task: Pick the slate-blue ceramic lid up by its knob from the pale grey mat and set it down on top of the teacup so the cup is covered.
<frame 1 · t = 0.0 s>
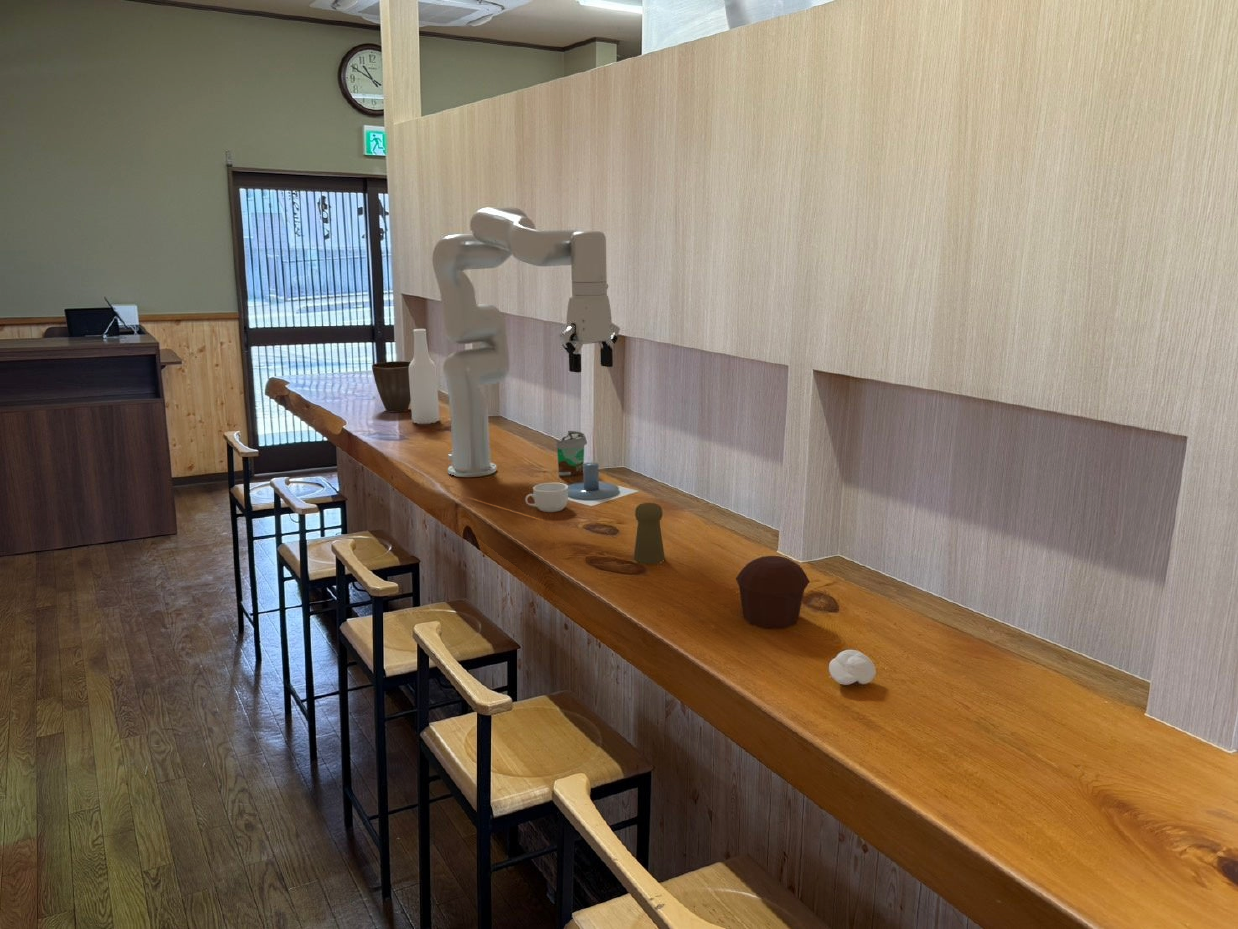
hand: (591, 369, 207), 31 cm above the bar counter, tool pointing down, fingers open, 9 cm apart
mat: (591, 493, 224), on the bar counter
teacup: (547, 511, 211), on the bar counter
food container: (575, 474, 242), on the bar counter
plant pot: (397, 410, 327), on the bar counter
lid: (591, 492, 224), resting on mat
cork: (649, 560, 180), on the bar counter
alcohol: (426, 422, 307), on the bar counter
dumpling: (850, 684, 132), on the bar counter
muffin: (771, 619, 153), on the bar counter
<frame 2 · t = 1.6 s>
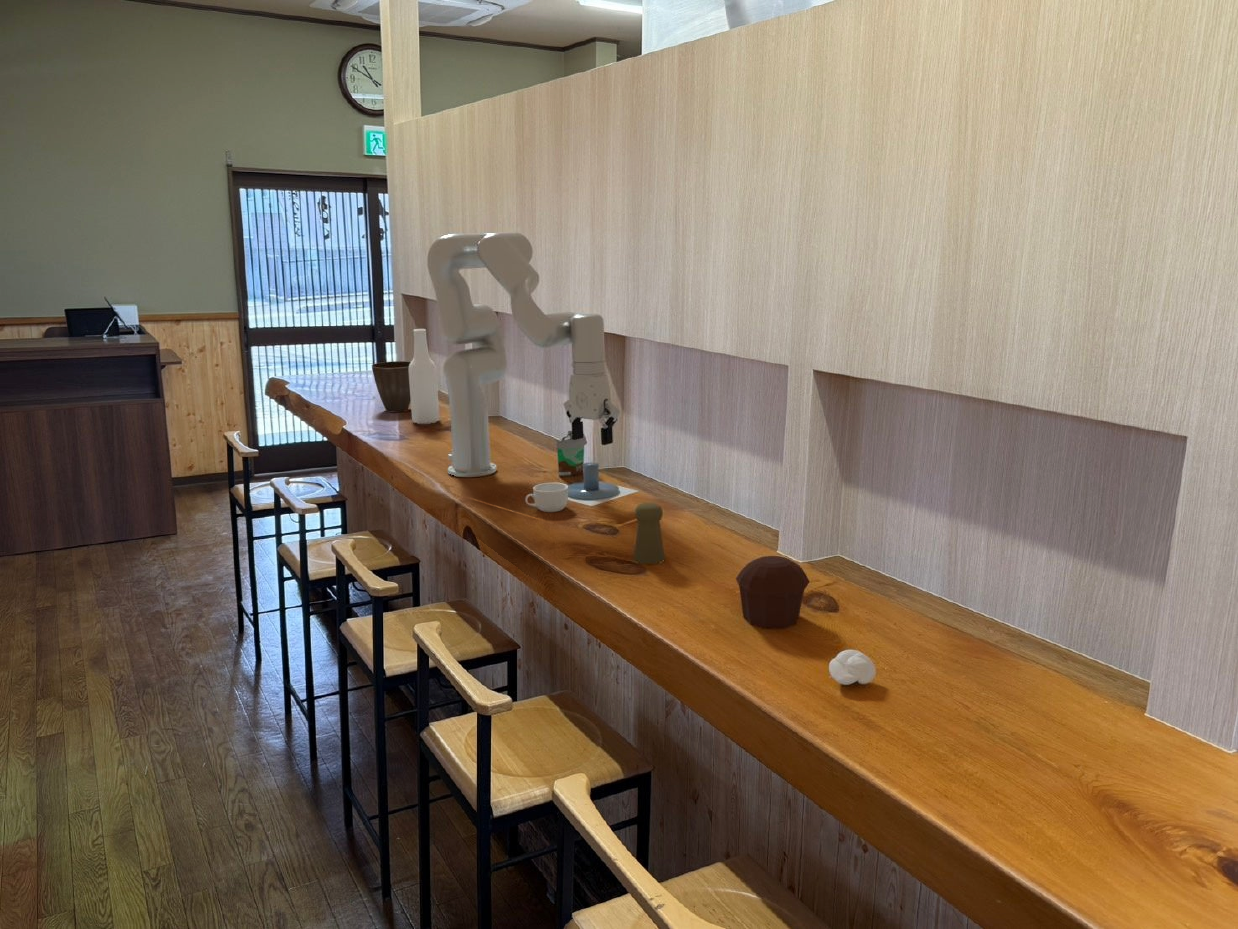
hand: (592, 441, 220), 13 cm above the bar counter, tool pointing down, fingers open, 9 cm apart
nothing on the bar counter moved.
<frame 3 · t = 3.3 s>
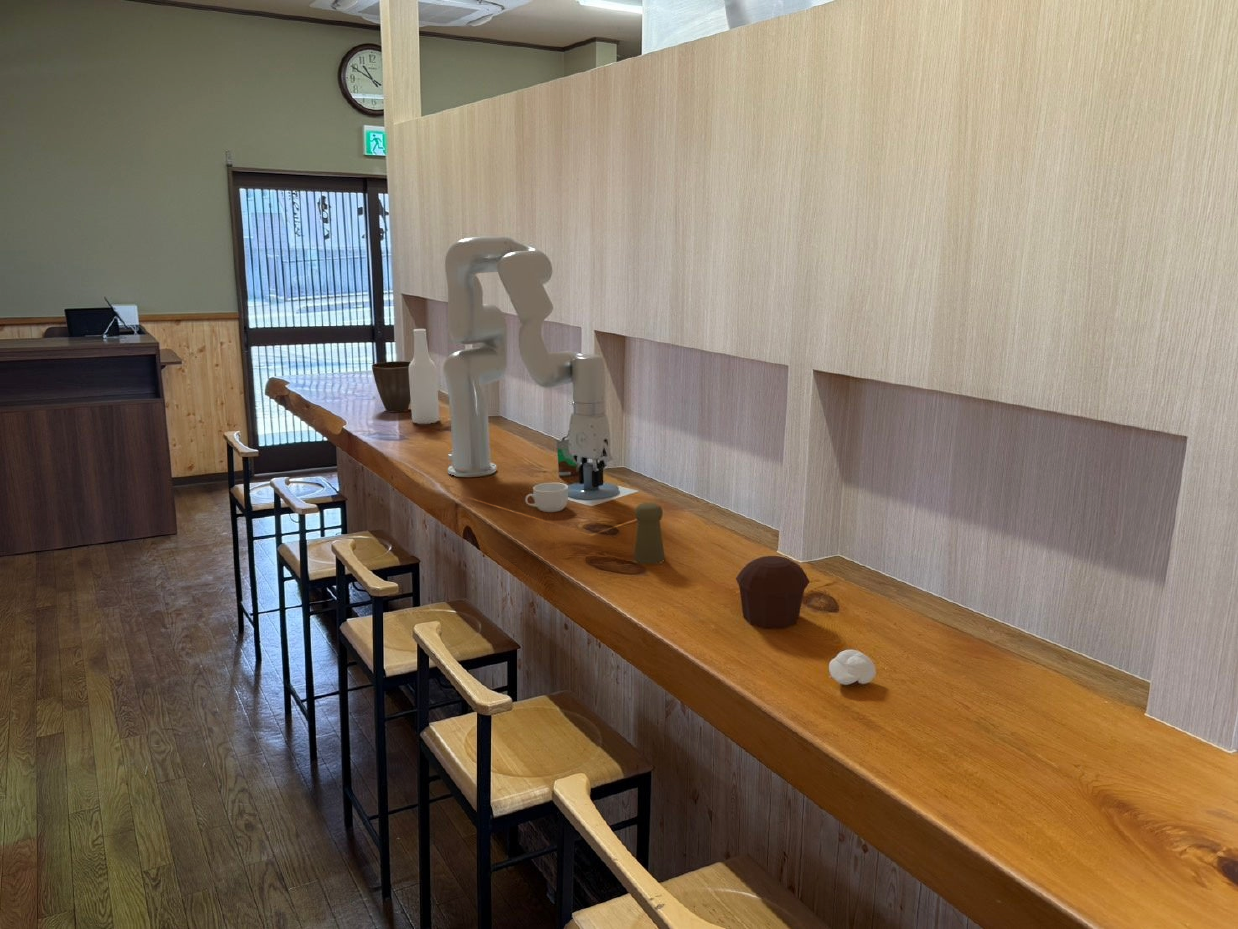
hand: (591, 483, 223), 2 cm above the bar counter, tool pointing down, fingers closed on lid, 3 cm apart
lid: (591, 492, 224), resting on mat, touching gripper
everything else where it was.
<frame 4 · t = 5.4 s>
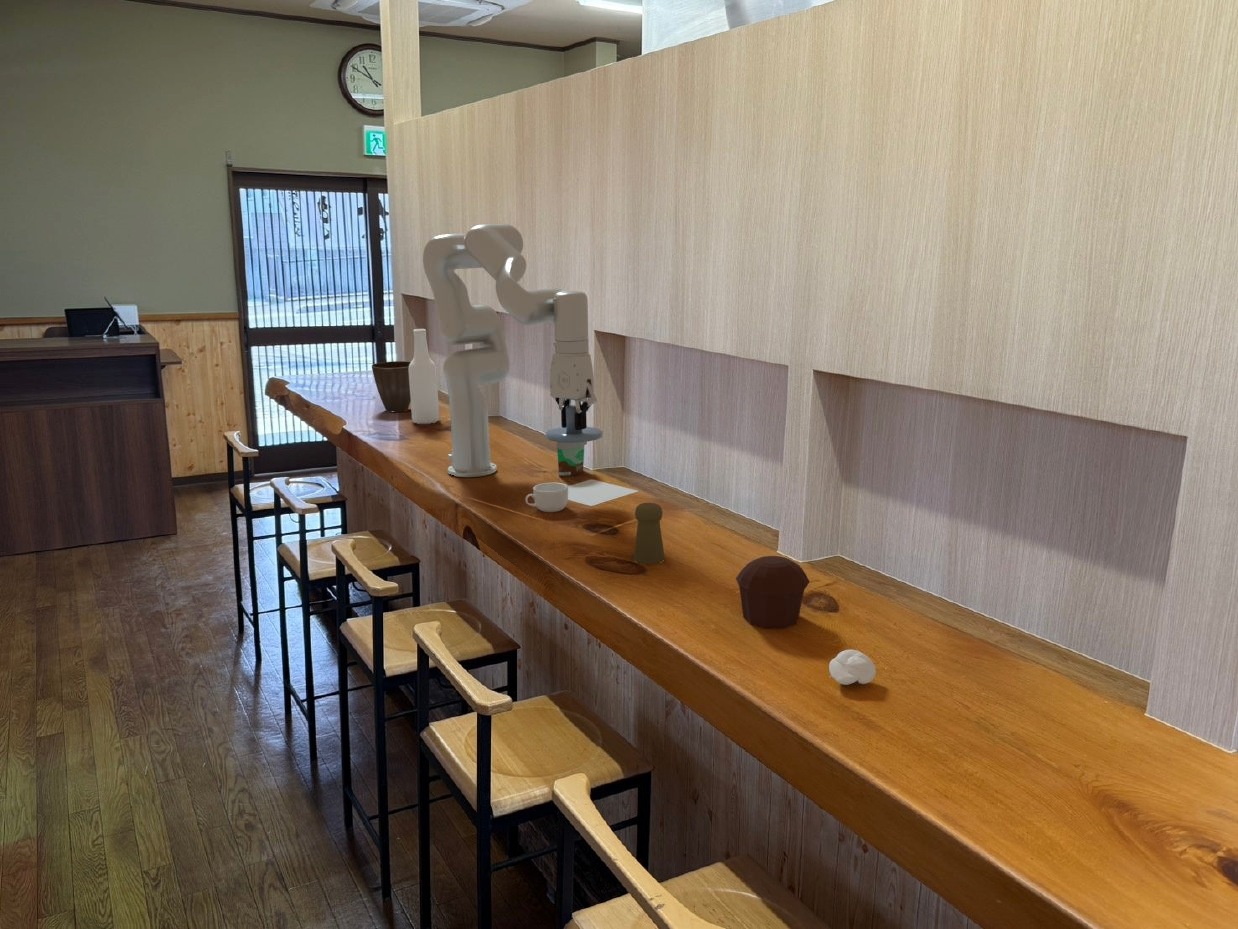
hand: (574, 427, 215), 17 cm above the bar counter, tool pointing down, fingers closed on lid, 3 cm apart
lid: (574, 435, 216), point 15 cm above the bar counter, touching gripper
everything else where it was.
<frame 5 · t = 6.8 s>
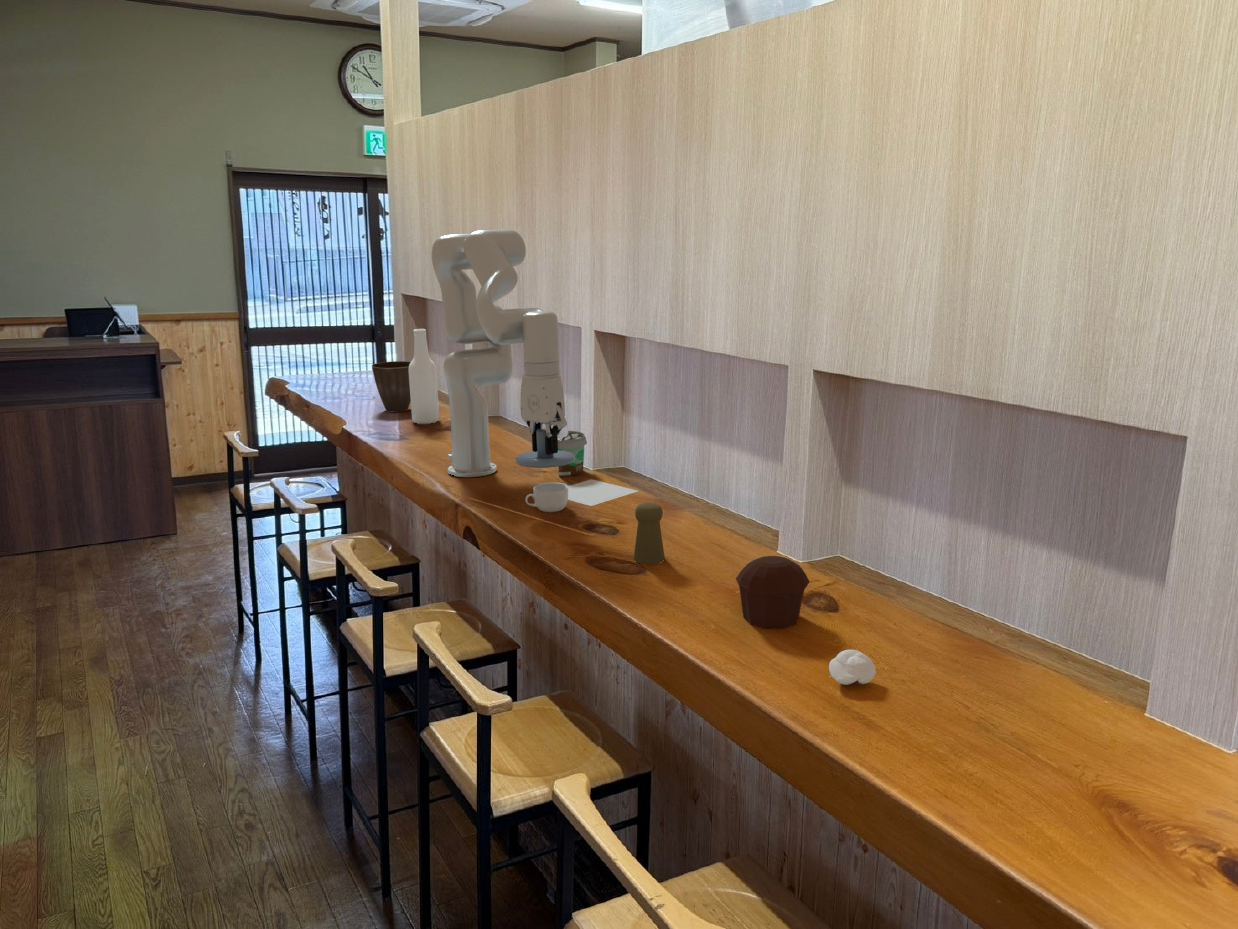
hand: (545, 451, 208), 14 cm above the bar counter, tool pointing down, fingers closed on lid, 3 cm apart
lid: (545, 460, 208), point 12 cm above the bar counter, touching gripper
everything else where it was.
when the fingers open (9 cm above the bar counter, at t = 7.9 s): lid drops 1 cm, resting on teacup.
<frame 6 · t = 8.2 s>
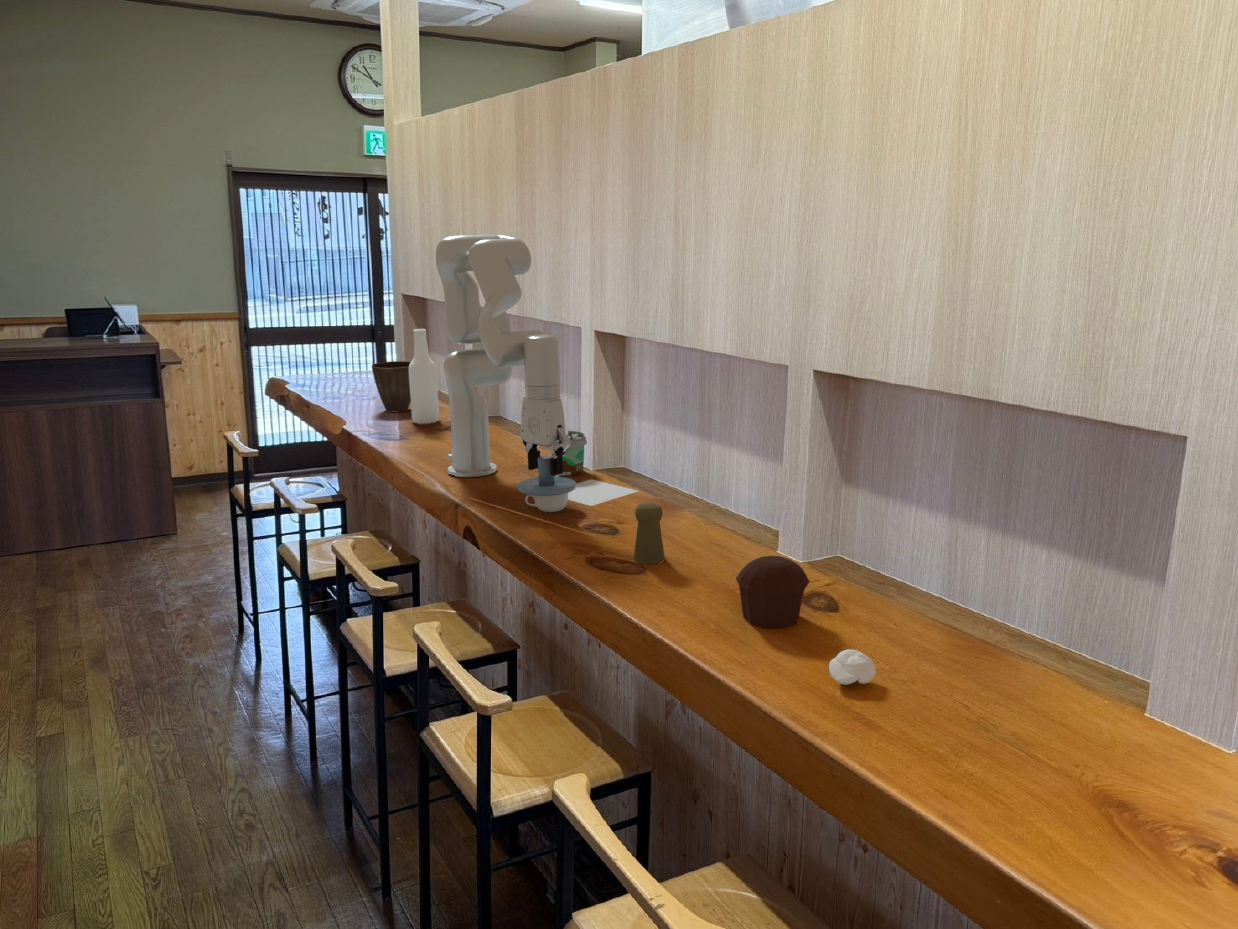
hand: (545, 470, 209), 9 cm above the bar counter, tool pointing down, fingers open, 6 cm apart
teacup: (547, 511, 211), on the bar counter, touching lid
lid: (546, 487, 210), point 5 cm above the bar counter, touching teacup
everything else where it was.
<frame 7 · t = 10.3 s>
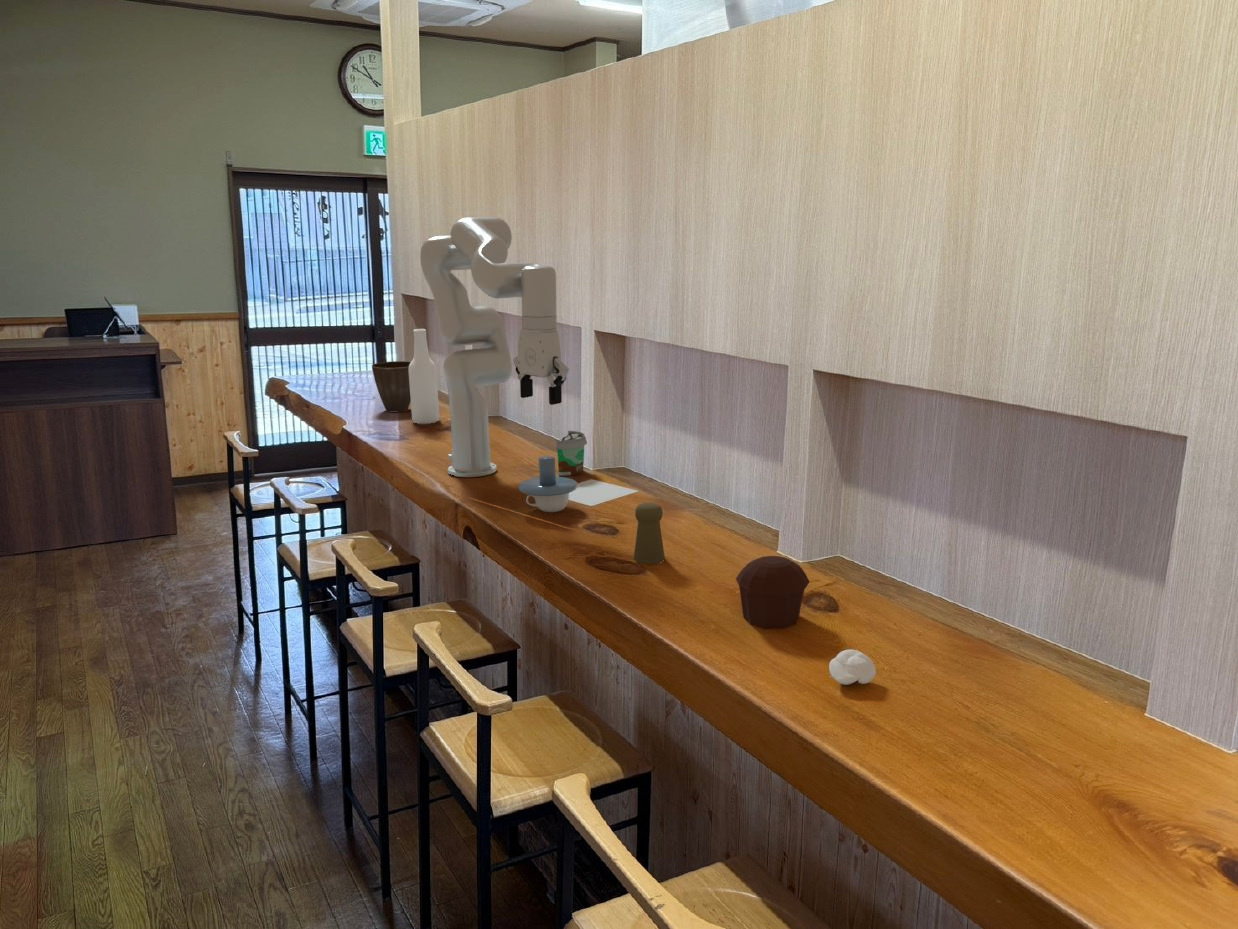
hand: (540, 400, 210), 24 cm above the bar counter, tool pointing down, fingers open, 9 cm apart
nothing on the bar counter moved.
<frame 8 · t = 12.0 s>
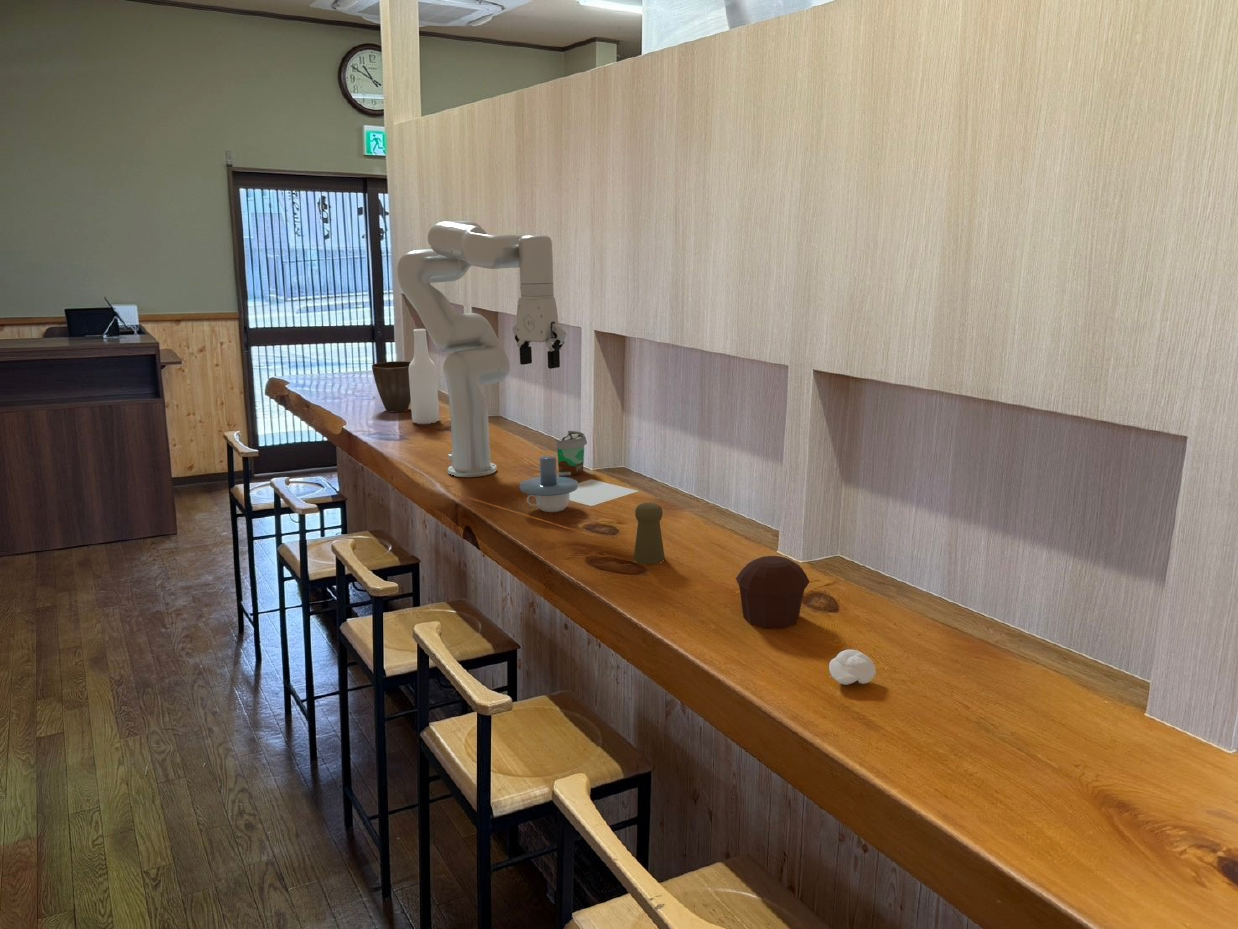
hand: (539, 365, 219), 30 cm above the bar counter, tool pointing down, fingers open, 9 cm apart
nothing on the bar counter moved.
at the end: lid 0.3 cm from the teacup (horizontally); lid point 5.3 cm above the bar counter; lid tilted 0° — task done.
